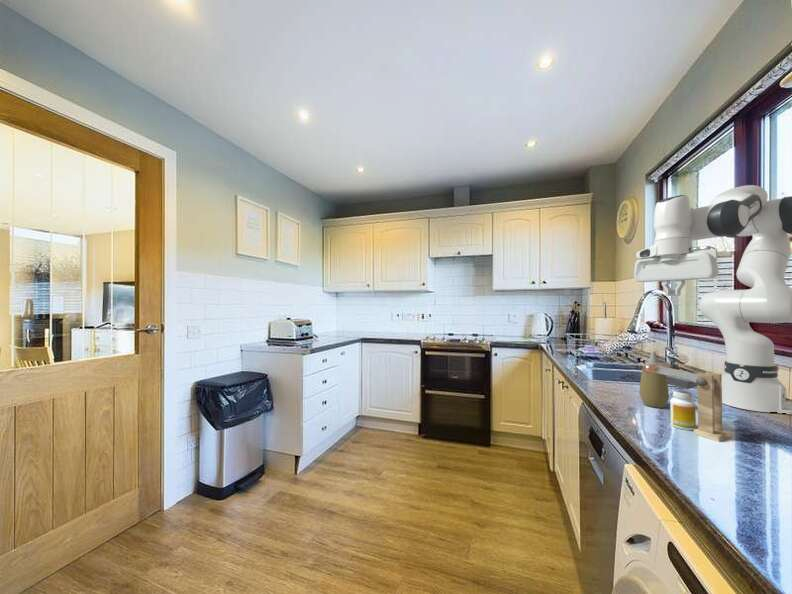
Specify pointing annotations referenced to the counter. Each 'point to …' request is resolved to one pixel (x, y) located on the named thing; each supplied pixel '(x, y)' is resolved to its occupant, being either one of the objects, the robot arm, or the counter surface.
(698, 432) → the press stand
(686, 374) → the lever
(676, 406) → the supplement bottle
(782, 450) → the counter surface
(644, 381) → the squeeze bottle
